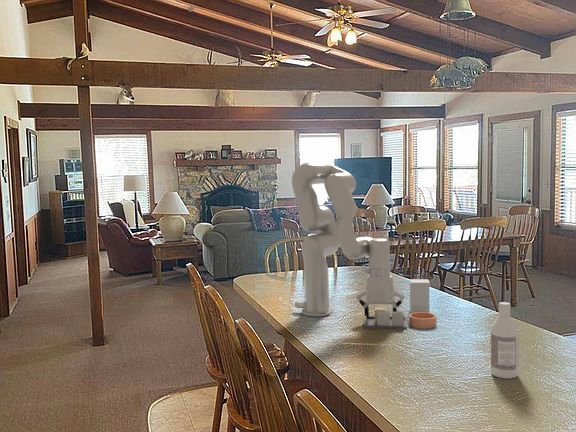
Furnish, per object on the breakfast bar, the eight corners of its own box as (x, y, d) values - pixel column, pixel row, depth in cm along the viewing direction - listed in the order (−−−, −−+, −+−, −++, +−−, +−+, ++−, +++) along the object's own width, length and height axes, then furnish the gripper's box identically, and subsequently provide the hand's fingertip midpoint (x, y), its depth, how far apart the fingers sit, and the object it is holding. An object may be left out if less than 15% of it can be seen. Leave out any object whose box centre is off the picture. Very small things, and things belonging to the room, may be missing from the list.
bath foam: (496, 368, 158) (496, 299, 156) (521, 373, 153) (522, 302, 152) (487, 375, 153) (487, 304, 151) (512, 381, 148) (513, 307, 146)
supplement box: (429, 315, 215) (429, 282, 214) (410, 314, 217) (409, 282, 216) (428, 310, 223) (428, 278, 221) (409, 309, 224) (409, 278, 223)
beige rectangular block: (374, 323, 204) (374, 310, 204) (375, 320, 209) (375, 307, 208) (385, 324, 203) (385, 310, 203) (385, 320, 208) (385, 307, 207)
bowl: (409, 328, 198) (409, 318, 198) (409, 321, 208) (408, 311, 207) (437, 329, 196) (437, 319, 196) (435, 322, 206) (435, 312, 205)
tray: (364, 328, 199) (364, 325, 199) (366, 319, 212) (366, 316, 212) (407, 330, 196) (406, 326, 196) (406, 320, 209) (406, 317, 209)
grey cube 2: (392, 327, 198) (391, 314, 198) (392, 324, 202) (392, 311, 202) (404, 328, 197) (403, 314, 197) (404, 325, 201) (403, 311, 201)
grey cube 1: (377, 327, 199) (377, 313, 199) (377, 324, 203) (377, 311, 203) (390, 327, 198) (390, 314, 198) (390, 324, 202) (390, 311, 202)
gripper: (355, 274, 202) (356, 320, 204) (403, 274, 199) (404, 321, 200) (356, 270, 210) (358, 314, 211) (403, 270, 206) (404, 315, 208)
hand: (380, 318), depth 206 cm, fingers open, 9 cm apart
